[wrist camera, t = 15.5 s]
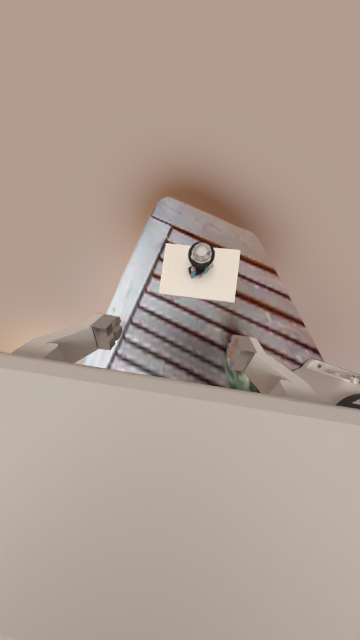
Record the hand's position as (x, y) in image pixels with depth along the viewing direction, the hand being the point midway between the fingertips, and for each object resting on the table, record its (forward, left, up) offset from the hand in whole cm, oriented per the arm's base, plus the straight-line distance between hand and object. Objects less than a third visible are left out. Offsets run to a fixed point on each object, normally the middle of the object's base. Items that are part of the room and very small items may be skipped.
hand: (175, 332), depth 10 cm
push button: (-2, -16, -26) cm, 30 cm away
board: (-2, -15, -27) cm, 31 cm away
